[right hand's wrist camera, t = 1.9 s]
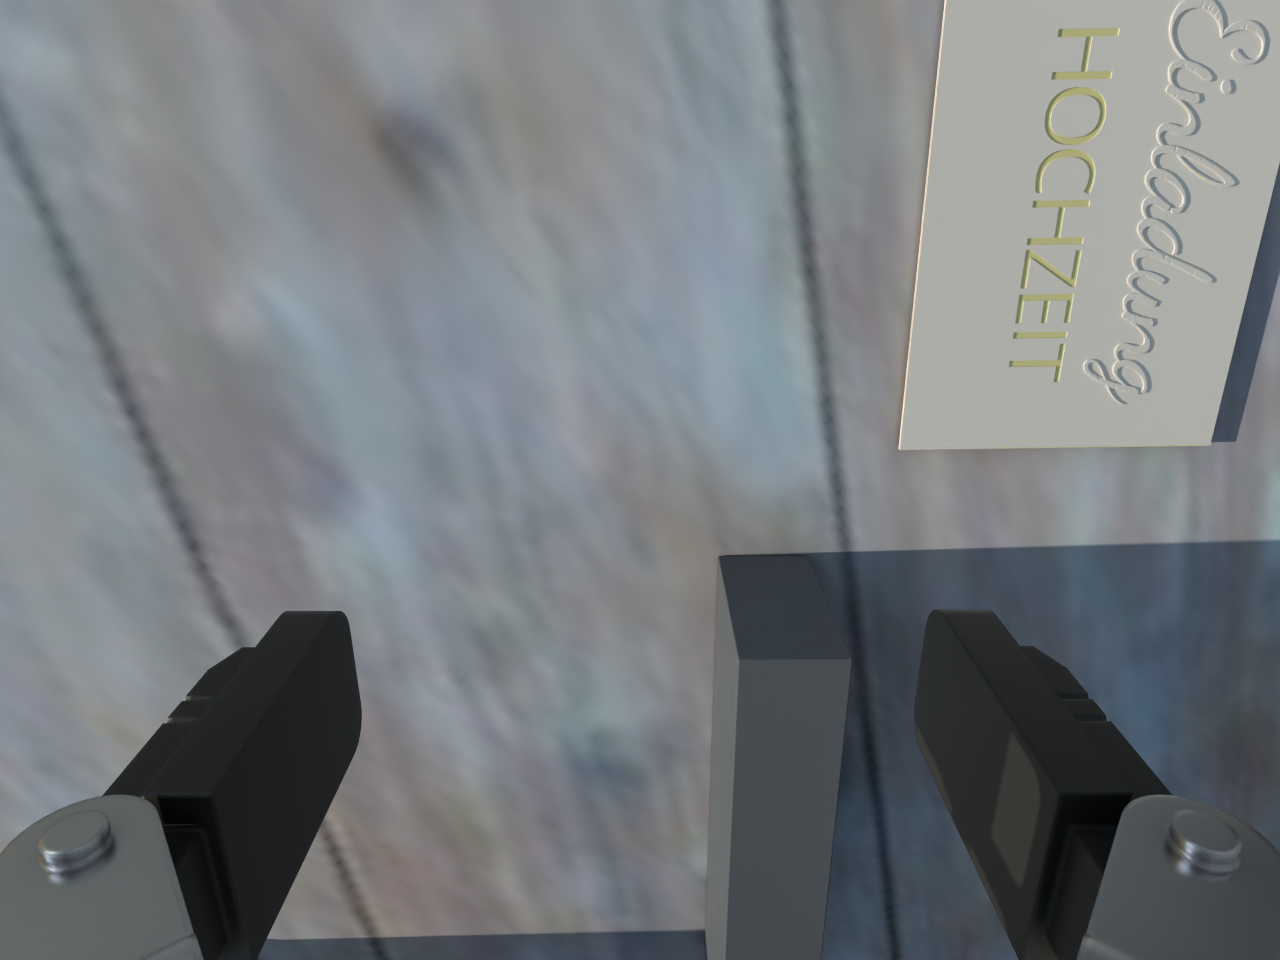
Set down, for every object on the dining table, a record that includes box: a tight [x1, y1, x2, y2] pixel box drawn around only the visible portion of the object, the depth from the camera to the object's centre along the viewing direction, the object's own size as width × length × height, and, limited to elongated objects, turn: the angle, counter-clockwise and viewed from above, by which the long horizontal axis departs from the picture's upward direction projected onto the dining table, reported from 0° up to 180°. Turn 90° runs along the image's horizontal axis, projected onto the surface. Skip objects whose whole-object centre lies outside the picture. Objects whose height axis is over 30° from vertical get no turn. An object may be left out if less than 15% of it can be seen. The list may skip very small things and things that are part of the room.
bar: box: [705, 556, 852, 960], centre depth 43 cm, size 28×5×10 cm, turn 0°
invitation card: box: [899, 0, 1280, 450], centre depth 36 cm, size 21×1×15 cm
